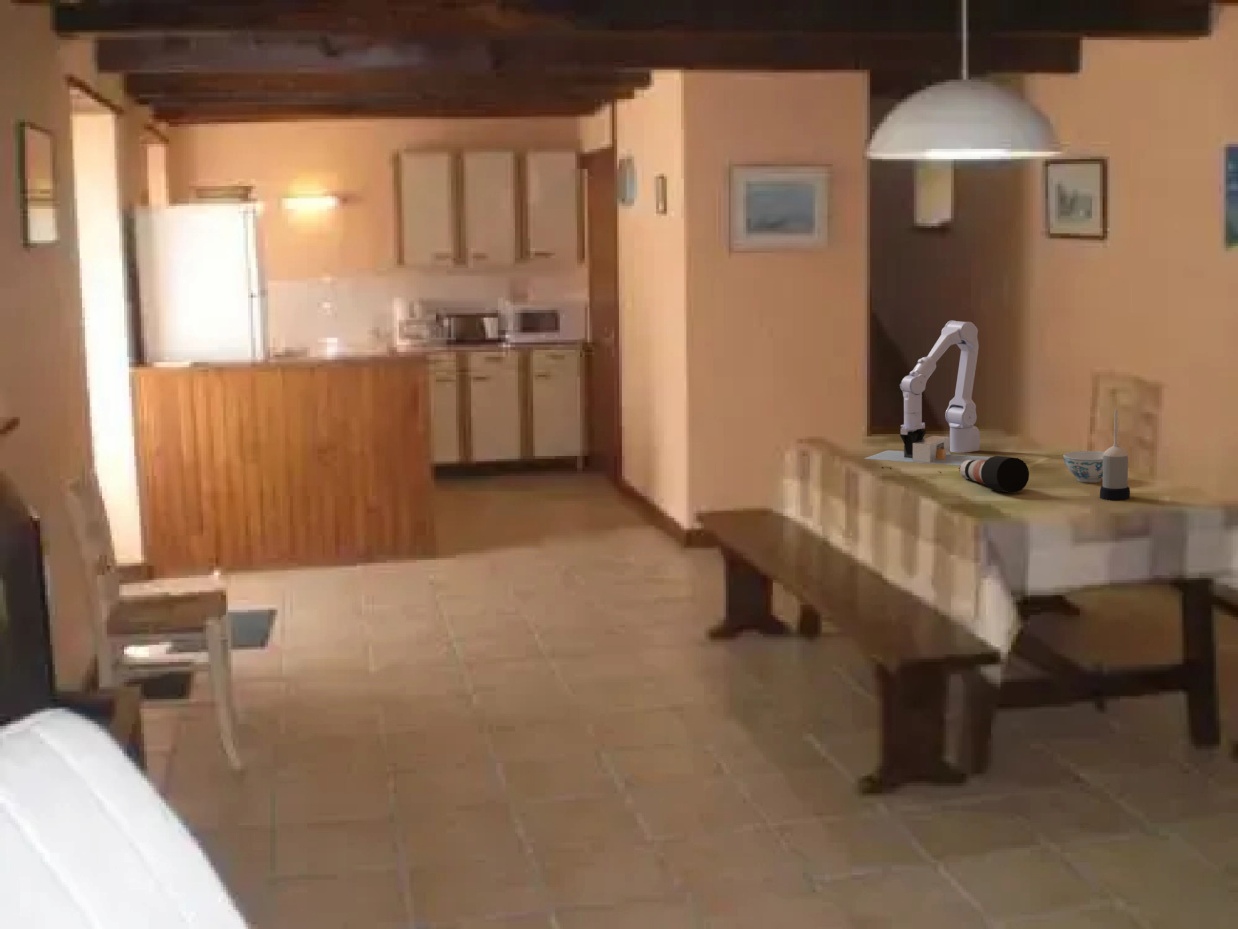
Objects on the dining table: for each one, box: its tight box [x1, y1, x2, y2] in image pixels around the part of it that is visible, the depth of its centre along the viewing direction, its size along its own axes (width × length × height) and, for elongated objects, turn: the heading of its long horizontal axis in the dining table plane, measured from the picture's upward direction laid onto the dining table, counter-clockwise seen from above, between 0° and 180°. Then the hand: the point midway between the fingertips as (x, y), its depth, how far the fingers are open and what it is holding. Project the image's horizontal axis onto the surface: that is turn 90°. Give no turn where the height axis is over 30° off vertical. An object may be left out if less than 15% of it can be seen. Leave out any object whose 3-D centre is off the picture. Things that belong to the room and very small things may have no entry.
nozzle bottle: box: [1099, 409, 1131, 502], centre depth 436 cm, size 8×8×25 cm
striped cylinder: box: [958, 455, 1030, 494], centre depth 462 cm, size 10×34×10 cm, turn 11°
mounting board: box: [863, 449, 991, 467], centre depth 508 cm, size 39×18×1 cm, turn 55°
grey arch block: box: [913, 435, 951, 464], centre depth 507 cm, size 6×16×6 cm, turn 145°
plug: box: [903, 445, 945, 459], centre depth 509 cm, size 13×4×4 cm, turn 56°
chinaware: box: [1063, 450, 1105, 483], centre depth 464 cm, size 15×15×8 cm
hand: (913, 453), depth 511 cm, fingers closed on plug, 4 cm apart
